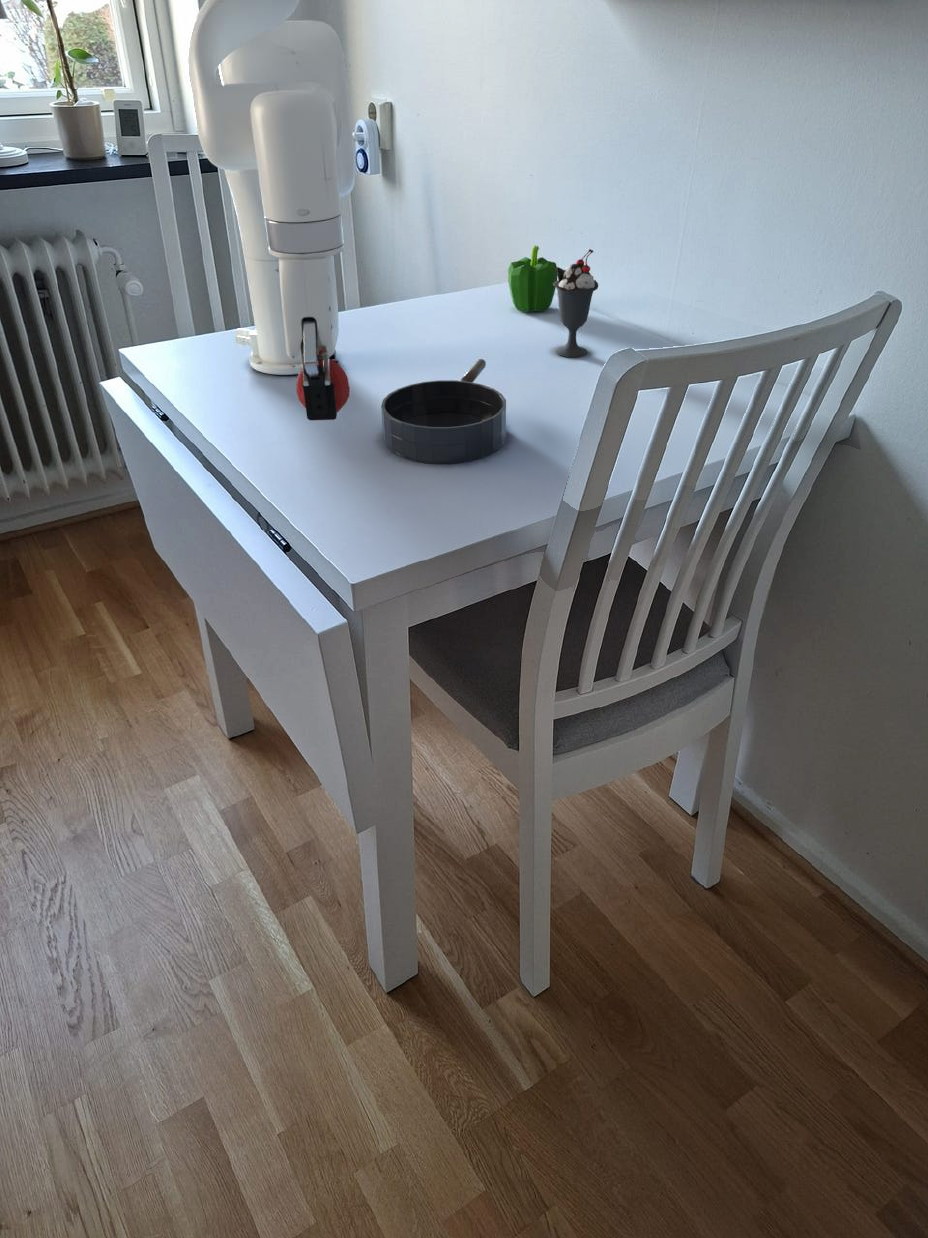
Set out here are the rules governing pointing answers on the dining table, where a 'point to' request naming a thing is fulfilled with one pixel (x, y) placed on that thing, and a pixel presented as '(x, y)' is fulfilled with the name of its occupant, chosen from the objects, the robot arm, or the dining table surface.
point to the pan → (444, 421)
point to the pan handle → (474, 371)
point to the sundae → (574, 302)
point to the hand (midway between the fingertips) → (324, 405)
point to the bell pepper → (532, 282)
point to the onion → (335, 376)
